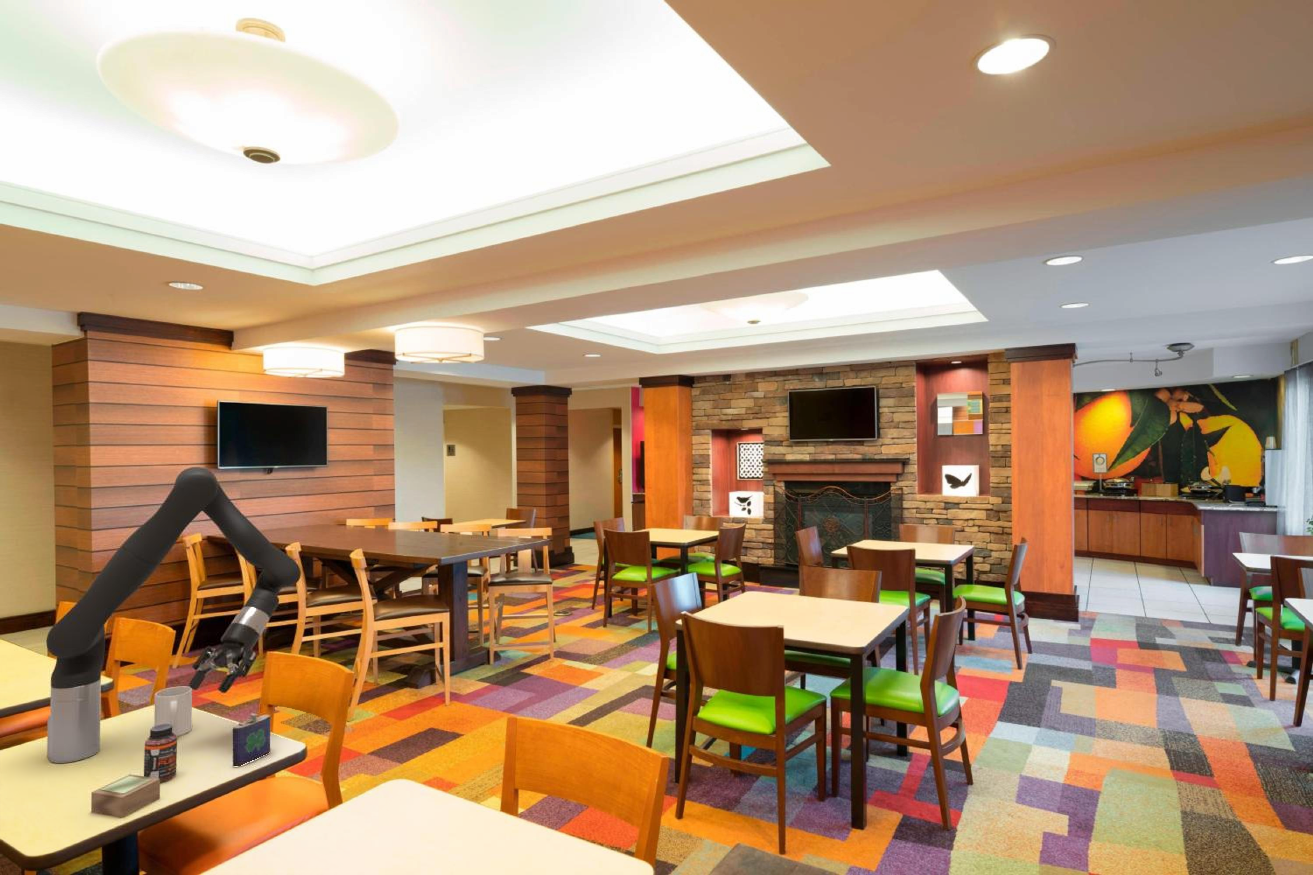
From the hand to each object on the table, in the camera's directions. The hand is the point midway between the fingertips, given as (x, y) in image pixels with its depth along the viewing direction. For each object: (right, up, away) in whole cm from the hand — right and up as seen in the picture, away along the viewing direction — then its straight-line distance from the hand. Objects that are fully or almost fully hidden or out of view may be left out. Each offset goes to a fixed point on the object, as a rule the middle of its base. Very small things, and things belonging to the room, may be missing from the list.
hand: (206, 689), depth 168 cm
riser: (-2, -15, -23) cm, 28 cm away
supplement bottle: (-3, -16, -11) cm, 20 cm away
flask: (+12, -16, -2) cm, 20 cm away
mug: (-16, -16, +11) cm, 25 cm away
